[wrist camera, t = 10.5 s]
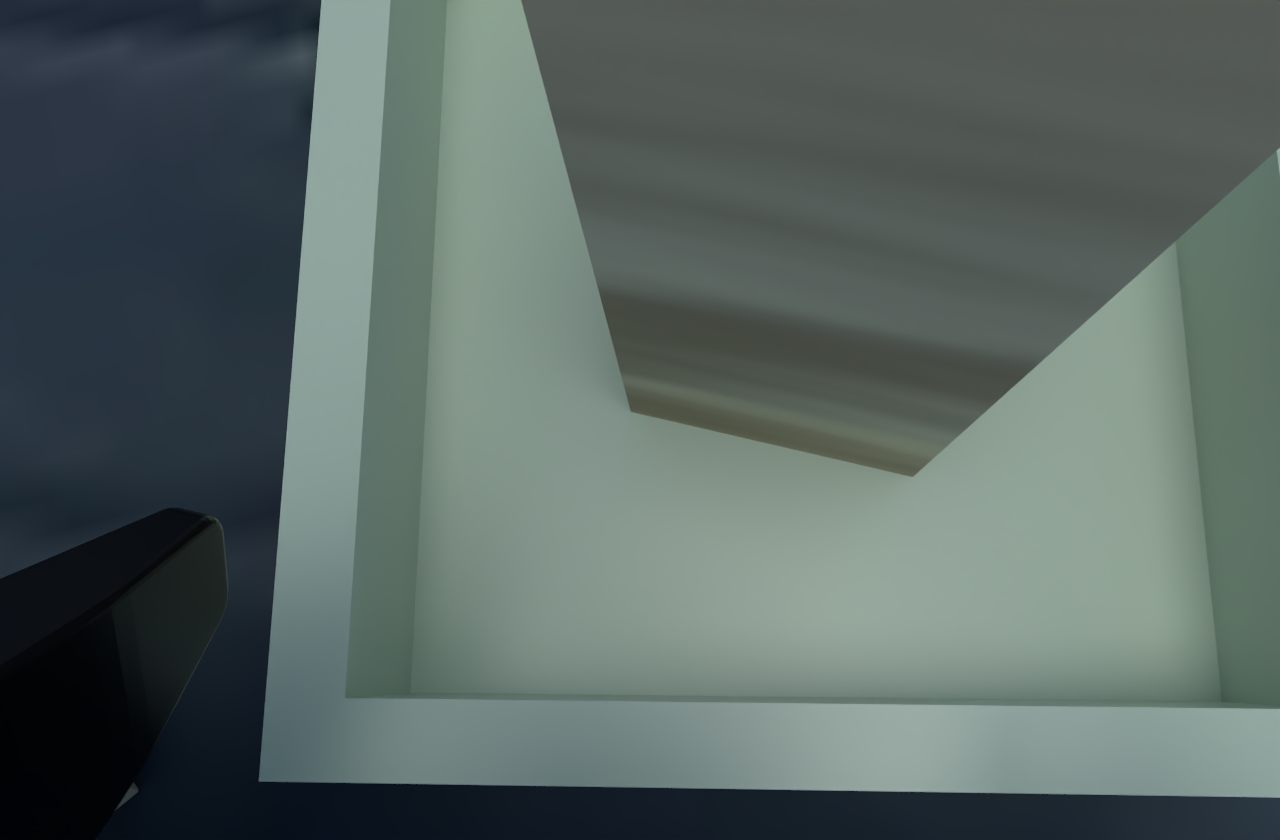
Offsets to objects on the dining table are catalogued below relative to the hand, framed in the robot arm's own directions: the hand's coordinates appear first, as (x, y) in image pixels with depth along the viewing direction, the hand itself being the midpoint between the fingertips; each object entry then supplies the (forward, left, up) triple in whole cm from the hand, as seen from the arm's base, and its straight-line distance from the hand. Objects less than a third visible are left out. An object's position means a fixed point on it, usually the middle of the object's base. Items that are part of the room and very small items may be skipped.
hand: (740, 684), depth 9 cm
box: (+1, +6, -9) cm, 10 cm away
